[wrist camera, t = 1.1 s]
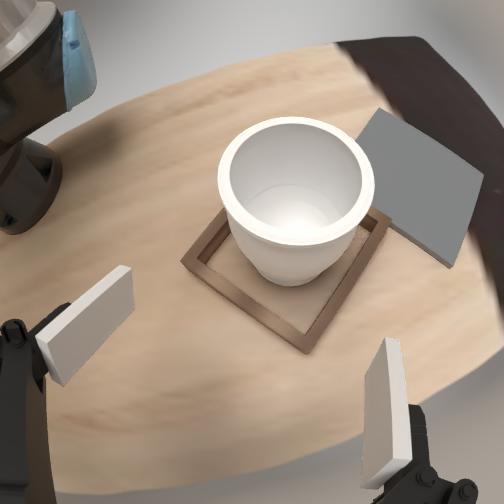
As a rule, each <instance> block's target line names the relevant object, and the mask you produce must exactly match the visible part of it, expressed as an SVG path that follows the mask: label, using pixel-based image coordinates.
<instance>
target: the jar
mask: <svg viewBox="0 0 504 504" xmlns="http://www.w3.org/2000/svg"><path fill="white" fill-rule="evenodd" d="M217 180H218V190H219V195H220V198H221V201H222V204H223V206H224V208H225V210H226V211H227V217H228V222H229V226H230V229H231V232H232V235H233V237H234V239H235V241H236V243H237V245H238V247H239V248H240V250H241V251H242V252H243V254H244V255H245V256H246V257H247V258H248V259H249V260H250V261H251V262H252V264H253V265H254V266H255V268H256V269H257V271H258V272H259V273H260V274H261V275H262V276H263V277H264V278H266V279H267V280H269V281H271V282H273V283H275V284H278V285H282V286H299V285H303V284H306V283H308V282H310V281H312V280H313V279H315V278H316V277H317V276H318V275H319V274H320V273H321V272H322V271H324V270H325V269H326V268H328V267H329V266H331V265H332V264H333V263H334V262H336V261H337V260H338V259H339V258H340V257H341V255H342V254H343V253H344V252H345V250H346V249H347V248H348V246H349V244H350V243H351V241H352V239H353V237H354V235H355V232H356V229H357V226H358V224H359V223H360V222H361V220H362V219H363V218H364V216H365V215H366V213H367V211H368V210H369V207H370V205H371V203H372V200H373V195H374V187H375V183H374V174H373V170H372V167H371V164H370V162H369V160H368V158H367V156H366V154H365V153H364V151H363V150H362V149H361V147H360V146H359V145H358V144H357V143H356V142H355V141H354V140H353V139H352V138H351V137H350V136H348V135H347V134H346V133H344V132H343V131H341V130H340V129H338V128H336V127H334V126H332V125H330V124H327V123H325V122H322V121H319V120H315V119H311V118H304V117H280V118H274V119H270V120H266V121H263V122H260V123H258V124H256V125H253V126H252V127H250V128H248V129H246V130H245V131H243V132H242V133H241V134H239V135H238V136H237V137H236V138H235V139H234V140H233V141H232V142H231V143H230V145H229V146H228V147H227V149H226V150H225V152H224V154H223V156H222V158H221V161H220V164H219V168H218V176H217Z"/></svg>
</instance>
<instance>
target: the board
mask: <svg viewBox="0 0 504 504" xmlns="http://www.w3.org/2000/svg"><path fill="white" fill-rule="evenodd" d="M355 142H356V143H357V144H358V145H359V146H360V147H361V149H362V150H363V151H364V153H365V154H366V156H367V158H368V160H369V162H370V164H371V167H372V170H373V174H374V183H375V187H374V195H373V200H372V203H371V206H373V207H375V208H376V209H378V210H379V211H381V212H382V213H384V214H385V215H387V216H388V217H390V218H392V221H391V223H390V225H389V227H391V228H392V229H394V230H395V231H397V232H398V233H400V234H401V235H403V236H404V237H406V238H407V239H409V240H410V241H412V242H413V243H414V244H416V245H417V246H419V247H420V248H422V249H423V250H424V251H426V252H427V253H429V254H430V255H431V256H433V257H434V258H436V259H437V260H438V261H440V262H441V263H442V264H444V265H445V266H447V267H448V268H451V267H453V265H454V263H455V260H456V258H457V255H458V253H459V250H460V248H461V245H462V242H463V240H464V237H465V234H466V231H467V228H468V226H469V223H470V220H471V217H472V214H473V210H474V207H475V204H476V201H477V198H478V194H479V191H480V187H481V184H482V180H483V176H484V175H483V174H482V173H481V172H479V171H478V170H477V169H475V168H474V167H473V166H471V165H470V164H468V163H467V162H466V161H464V160H463V159H462V158H460V157H459V156H457V155H456V154H454V153H453V152H452V151H450V150H449V149H447V148H446V147H444V146H443V145H441V144H440V143H438V142H437V141H435V140H433V139H432V138H430V137H429V136H427V135H426V134H424V133H422V132H421V131H419V130H418V129H416V128H414V127H413V126H411V125H409V124H407V123H406V122H404V121H402V120H401V119H399V118H397V117H395V116H394V115H392V114H390V113H388V112H386V111H384V110H383V109H381V108H378V110H377V111H376V112H375V114H374V115H373V117H372V118H371V119H370V121H369V122H368V124H367V125H366V126H365V128H364V129H363V131H362V132H361V133H360V135H359V136H358V138H357V139H356V140H355Z"/></svg>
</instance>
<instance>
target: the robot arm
mask: <svg viewBox="0 0 504 504" xmlns="http://www.w3.org/2000/svg"><path fill="white" fill-rule="evenodd" d="M96 84H97V79H96V70H95V65H94V60H93V56H92V52H91V48H90V44H89V40H88V37H87V34H86V30H85V27H84V25H83V22H82V19H81V17H80V16H79V14H78V12H77V11H75V10H72V11H66V12H65V13H64V15H61V14H60V12H59V11H58V9H57V7H56V6H55V4H54V3H52V2H37V1H35V0H0V229H1V230H2V231H4V232H6V233H8V234H19V233H22V232H24V231H26V230H27V229H29V228H30V227H32V226H33V225H34V224H35V223H36V222H37V221H38V220H39V219H40V218H41V217H42V216H43V215H44V213H45V212H46V211H47V209H48V208H49V206H50V204H51V203H52V201H53V199H54V197H55V195H56V193H57V190H58V188H59V184H60V181H61V175H62V166H61V162H60V160H59V158H58V157H57V155H56V154H55V153H54V152H53V151H52V150H51V149H50V148H48V147H47V146H45V145H42V144H40V143H38V142H36V141H33V140H31V139H29V138H26V136H28V135H30V134H31V133H32V132H34V131H36V130H37V129H39V128H40V127H42V126H44V125H45V124H47V123H48V122H50V121H52V120H53V119H55V118H57V117H59V116H60V115H62V114H64V113H65V112H67V111H68V112H69V111H71V110H72V108H73V107H74V106H76V105H78V104H79V103H81V102H83V101H85V100H86V99H88V98H89V97H90V96H92V94H93V93H94V91H95V89H96ZM134 310H135V308H134V296H133V281H132V268H130V267H126V266H123V265H119V266H118V267H116V268H115V269H114V270H113V271H111V272H110V273H109V274H108V275H106V276H105V277H104V278H103V279H101V280H100V281H99V282H98V283H97V284H95V285H94V286H93V287H92V288H90V289H89V290H88V291H87V292H86V293H84V294H83V295H82V296H81V297H80V298H78V299H77V300H76V301H75V302H74V303H72V304H71V303H69V302H68V303H65V304H63V305H61V306H59V307H57V308H56V309H55V310H54V311H53V312H52V313H50V314H49V315H48V316H47V317H46V318H44V319H43V320H42V321H41V322H40V323H39V324H37V325H36V326H35V327H34V328H33V329H32V330H30V331H29V332H27V329H26V326H25V324H24V322H23V321H22V320H19V319H11V320H8V321H6V322H5V323H4V324H3V325H2V326H1V328H0V331H1V334H2V336H1V335H0V504H57V503H56V497H55V491H54V485H53V478H52V471H51V463H50V455H49V444H48V431H47V412H46V378H45V374H46V373H47V372H48V371H49V374H50V376H51V378H52V380H54V381H55V382H57V383H58V384H60V385H61V386H63V387H64V386H65V385H66V383H67V382H68V381H69V380H70V379H71V378H72V377H73V376H74V374H75V373H76V372H77V371H78V370H79V369H80V368H81V367H82V366H83V364H84V363H85V362H86V361H87V360H88V359H89V358H90V357H91V356H92V355H93V354H94V352H95V351H96V350H97V349H98V348H99V347H100V346H101V345H102V344H103V343H104V342H105V340H106V339H107V338H108V337H109V336H110V335H111V334H112V333H113V332H114V331H115V330H116V329H117V328H118V327H119V326H120V324H121V323H122V322H123V321H124V320H125V319H126V318H127V317H128V316H129V315H130V314H131V313H132V312H133V311H134ZM426 434H427V430H426V421H425V415H424V413H423V411H422V409H421V407H420V406H419V405H411V404H408V399H407V390H406V382H405V375H404V368H403V361H402V354H401V348H400V342H399V340H397V339H392V338H388V337H385V338H384V340H383V342H382V344H381V346H380V348H379V350H378V352H377V354H376V356H375V358H374V359H373V361H372V363H371V365H370V367H369V369H368V371H367V372H366V374H365V416H364V444H363V460H362V473H361V485H360V488H366V489H379V488H380V487H381V486H382V485H384V492H383V493H382V494H381V495H379V496H378V497H377V498H376V499H374V500H373V501H374V502H373V503H371V504H476V500H477V497H478V489H477V486H476V485H475V483H474V482H473V481H471V480H469V479H461V480H459V481H458V482H457V483H452V482H450V481H447V480H444V479H441V478H439V477H438V475H437V472H436V471H435V469H433V467H431V466H430V461H429V449H428V439H427V435H426Z"/></svg>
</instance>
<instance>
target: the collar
mask: <svg viewBox="0 0 504 504" xmlns="http://www.w3.org/2000/svg"><path fill="white" fill-rule="evenodd" d="M391 221H392V218H390V217H388V216H387V215H385V214H384V213H382V212H381V211H379V210H378V209H376V208H375V207H373V206H371V205H370V207H369V210H368V211H367V213H366V215H365V216H364V218H363V219H362V220H361V222H360V223H359V225H360V226H362V227H364V228H365V229H367V230H368V231H370V232H371V234H370V236H369V237H368V239H367V241H366V242H365V244H364V246H363V247H362V249H361V251H360V252H359V254H358V255H357V257H356V259H355V260H354V262H353V264H352V265H351V267H350V268H349V270H348V271H347V273H346V275H345V276H344V278H343V279H342V281H341V282H340V284H339V286H338V287H337V289H336V290H335V292H334V293H333V295H332V296H331V298H330V299H329V301H328V302H327V304H326V305H325V307H324V308H323V310H322V311H321V313H320V314H319V316H318V317H317V319H316V320H315V322H314V323H313V324H312V326H311V327H310V329H309V330H308V332H307V333H306V335H304V334H302V333H301V332H299V331H298V330H296V329H295V328H293V327H292V326H290V325H289V324H288V323H286V322H285V321H283V320H282V319H280V318H279V317H277V316H276V315H275V314H273V313H272V312H270V311H269V310H267V309H266V308H265V307H263V306H262V305H260V304H259V303H257V302H256V301H255V300H253V299H252V298H250V297H249V296H248V295H246V294H245V293H243V292H242V291H241V290H239V289H238V288H236V287H235V286H234V285H232V284H231V283H229V282H228V281H227V280H225V279H224V278H223V277H221V276H220V275H218V274H217V273H216V272H214V271H213V270H212V269H210V268H209V267H207V266H206V265H205V264H206V262H207V261H208V260H209V259H210V257H211V256H212V255H213V253H214V252H215V251H216V250H217V248H218V247H219V246H220V245H221V243H222V242H223V241H224V240H225V238H226V237H227V236H228V235H229V233H230V232H231V229H230V226H229V222H228V217H227V211H226V210H225V208H223V209H222V210H221V211H220V212H219V214H218V215H217V216H216V217H215V218H214V220H213V221H212V222H211V223H210V225H209V226H208V227H207V228H206V229H205V231H204V232H203V233H202V234H201V235H200V237H199V238H198V239H197V240H196V242H195V243H194V244H193V245H192V247H191V248H190V249H189V250H188V252H187V253H186V254H185V255H184V257H183V258H182V259H181V260H180V262H181V263H182V264H183V265H184V266H185V267H186V268H187V269H188V270H189V271H190V272H192V273H193V274H194V275H196V276H197V277H198V278H200V279H201V280H202V281H204V282H205V283H206V284H208V285H209V286H210V287H212V288H213V289H214V290H216V291H217V292H218V293H220V294H221V295H222V296H224V297H225V298H227V299H228V300H229V301H231V302H232V303H233V304H235V305H236V306H238V307H239V308H240V309H242V310H243V311H244V312H246V313H247V314H249V315H250V316H251V317H253V318H254V319H256V320H257V321H258V322H260V323H261V324H263V325H264V326H265V327H267V328H268V329H270V330H271V331H272V332H274V333H275V334H277V335H278V336H280V337H281V338H282V339H284V340H285V341H287V342H288V343H290V344H291V345H293V346H294V347H296V348H297V349H298V350H300V351H301V352H303V353H304V354H309V352H310V351H311V350H312V348H313V347H314V345H315V344H316V342H317V341H318V340H319V338H320V337H321V335H322V334H323V332H324V331H325V329H326V328H327V326H328V325H329V323H330V322H331V320H332V319H333V317H334V316H335V314H336V313H337V311H338V310H339V308H340V307H341V305H342V304H343V302H344V300H345V299H346V297H347V296H348V294H349V293H350V291H351V289H352V288H353V286H354V285H355V283H356V281H357V280H358V278H359V277H360V275H361V273H362V272H363V270H364V268H365V267H366V265H367V263H368V262H369V260H370V258H371V256H372V255H373V253H374V251H375V250H376V248H377V246H378V244H379V243H380V241H381V239H382V237H383V236H384V234H385V232H386V230H387V228H388V227H389V225H390V223H391Z"/></svg>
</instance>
